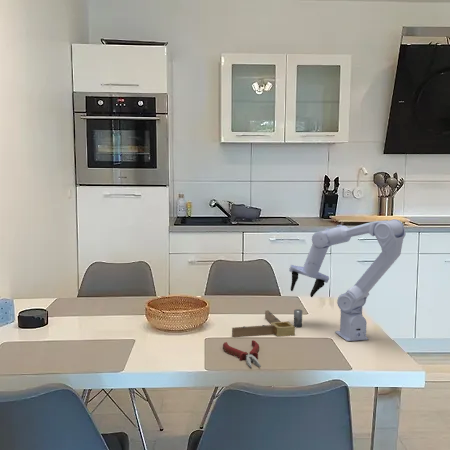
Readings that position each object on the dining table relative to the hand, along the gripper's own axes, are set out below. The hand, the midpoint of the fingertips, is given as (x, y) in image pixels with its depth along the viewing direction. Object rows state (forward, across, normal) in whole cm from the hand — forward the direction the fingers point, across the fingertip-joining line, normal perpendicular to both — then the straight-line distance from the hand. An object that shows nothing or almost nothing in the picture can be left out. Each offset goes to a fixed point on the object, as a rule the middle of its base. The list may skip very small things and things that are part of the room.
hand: (301, 292), depth 200 cm
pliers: (+9, +18, +38) cm, 43 cm away
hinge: (+14, +13, +10) cm, 21 cm away
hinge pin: (+10, -2, +6) cm, 12 cm away
